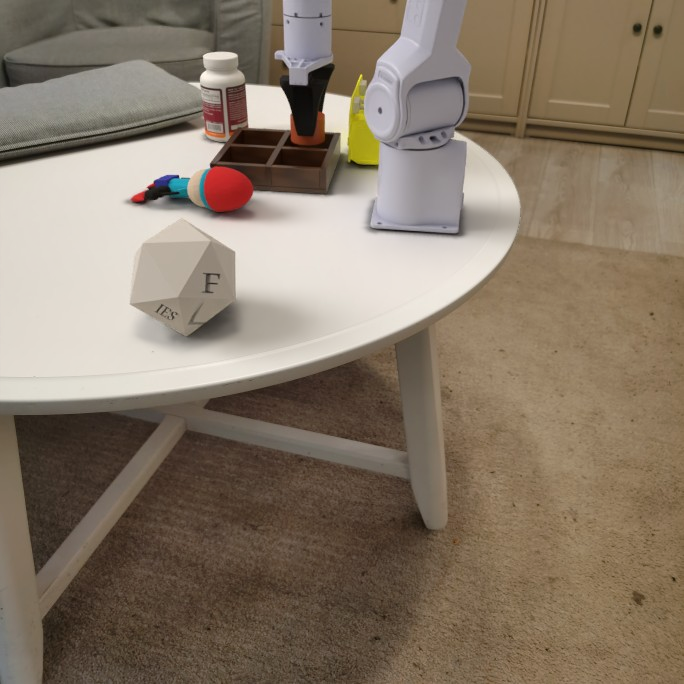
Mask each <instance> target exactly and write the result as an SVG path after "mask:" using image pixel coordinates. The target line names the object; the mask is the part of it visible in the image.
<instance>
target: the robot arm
mask: <svg viewBox="0 0 684 684" xmlns="http://www.w3.org/2000/svg"><path fill="white" fill-rule="evenodd" d="M467 4H468V0H406V4H405V10H404V15H403V20H402V26H401V31H400V36H399V37H398V39H397V40H396V41H395V42H394V43H393V44H392V45H390V46H389V48H388V49H387V50H386V51H385V52H384V53H383V54H382V55H381V56H380V57H379V58H378V59H377V61H376V64H375V71H374V74H373V77H372V79H371V81H370V82H369V84H368V86H367V88H366V94H365V99H364V114H365V119H366V122H367V124H368V127H369V128H370V130H371V132H372V133H373V134H374V138H375V139H377V140H379V141H380V148H379V164H378V172H377V173H378V174H377V175H378V176H377V191H376V192H377V193H376V194H377V196H376V197H375V200H374V203H373V208H372V212H371V213H372V214H371V218H370V226H369V227H370V228H372V229H380V230H397V231H413V232H427V233H444V234H457V233H459V229H460V220H461V218H460V217H461V210H463V209H464V203H465V202H464V201H465V192H464V184H465V177H466V167H467V166H466V165H467V152H468V151H467V150H468V146H467V144H468V143H467V141H465V140H460V139H454V138H455V131H456V128H457V127H459V126H460V125H461V124H462V123H463V122H464V120H465V119H466V117H467V115H468V111H469V106H470V90H469V83H470V76H471V72H472V64H470V62H469V61H468V59H467V57H466V56H465V55H464V54H463V53H462V52H461V51H460V50H459V48H457V46H458V41H459V37H460V32H461V29H462V25H463V20H464V16H465V12H466V8H467ZM332 12H333V0H282V19H283V20H282V21H283V50H282V49H280V50H276V51H275V52H274V60H277V61H283V62H284V64H285V65H286V67H287V68H288V71H289V72H288V75H287V74H285V75H284V74H282V75H281V76H280V77H279V86H280V88H281V89H282V92H283V94H284V95H285V97H286V99H287V102H288V104H289V109H290V112H291V113H292V116H293V121H294V125H295V129H296V133H297V135H298V136H314V133H315V129H316V124H317V117H318V111H319V112H322V113H323V110H324V104H325V99H326V94H327V89H328V85H329V83H330V80H331V78H332V75H333V72H334V70H335V68H336V66H335V64H334V63H332V62H333V61H334V53H333V51H332V47H333V46H332V43H333V41H332V40H333V39H332V37H333V35H332V32H333V31H332V30H333V25H332V24H333V13H332Z"/></svg>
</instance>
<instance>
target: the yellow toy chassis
mask: <svg viewBox="0 0 684 684" xmlns="http://www.w3.org/2000/svg"><path fill="white" fill-rule="evenodd" d="M367 83H368V81H367V79H363V74H360V75H359V77H358V79H357V82H356V85H355V87H354V90H353V92H352V95H351V97H350V103H349V113H348V137H347V147H348V151H347V162H348V163H351V161H352V162H355V163H356V164H358V165H362V166H363V165H364V166H372V165H375V166H379V148H380V141H379V140H377V139H375V138H374V134H373V133H372V132H371V130H370V128H369V127H368V124H367V122H366V119H365V114H364V99H365V94H366V90H367V88H368V86H367V85H368V84H367Z"/></svg>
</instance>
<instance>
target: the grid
mask: <svg viewBox="0 0 684 684" xmlns="http://www.w3.org/2000/svg"><path fill="white" fill-rule="evenodd" d="M341 136H342V135H341V132H332V131H325V141H324V142H323V143H320V144H317V145H299V144H295V143H293V142H292V141H291V129H274V128H258V127H249V128H242V127H238V128H237V129H236V131H235V132H234V133H233V134H232V136H231V137H230V138H229V140H228V141H227V142H224V144H223V146H222V147H221V148H220V149H219V151H218V152H217V153H216V155H215V156H214V158H212V160H211V161H210V162H209V168H213V167H227V168H231V169H234V170H237V171H239V172H241V173H242V174H244V175H245V176H246V177H247V178H248V179H249V180H250V181H251V183H252V185H253V191H268V192H269V191H270V192H283V193H285V192H286V193H302V194H315V195H316V194H317V195H318V194H320V195H327V193H328V191H329V188H330V185H331V182H332V179H333V176H334V173H335V170H336V168H337V165H338V163H339V159H340V157H341V143H342V142H341V139H342V137H341Z"/></svg>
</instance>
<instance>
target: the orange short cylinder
mask: <svg viewBox="0 0 684 684" xmlns="http://www.w3.org/2000/svg"><path fill="white" fill-rule="evenodd" d="M289 119H290V120H289V121H290V130H291V141H292V142H293V143H295V144H299V145H317V144H320V143H323V142H324V141H325V132H326V115H325V113H324V112H323V111H322V112H319V111H318V117H317V124H316V129H315V133H314V136H298V135H297V133H296V129H295V125H294V121H293V116H292V112H291V113H290V115H289Z"/></svg>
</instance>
